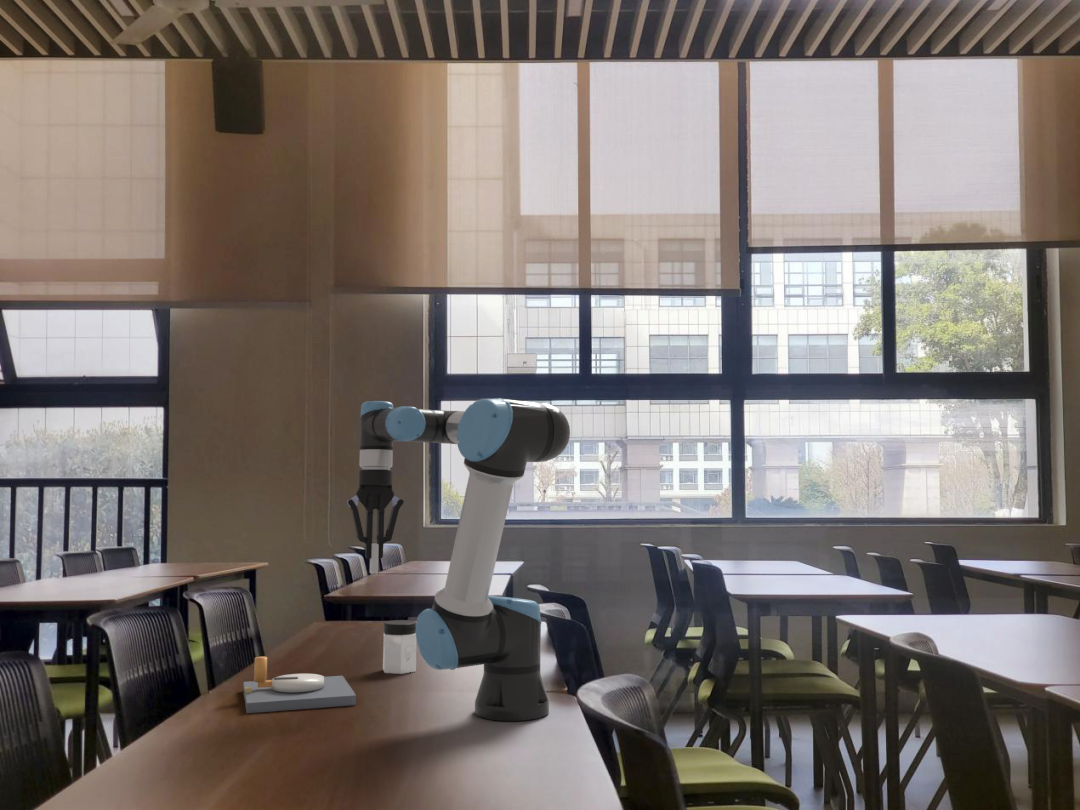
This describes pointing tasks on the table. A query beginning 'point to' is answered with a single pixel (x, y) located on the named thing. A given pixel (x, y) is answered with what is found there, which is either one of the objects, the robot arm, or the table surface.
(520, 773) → the table surface
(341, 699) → the panel
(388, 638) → the jar
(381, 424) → the robot arm
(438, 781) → the table surface
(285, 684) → the dial
